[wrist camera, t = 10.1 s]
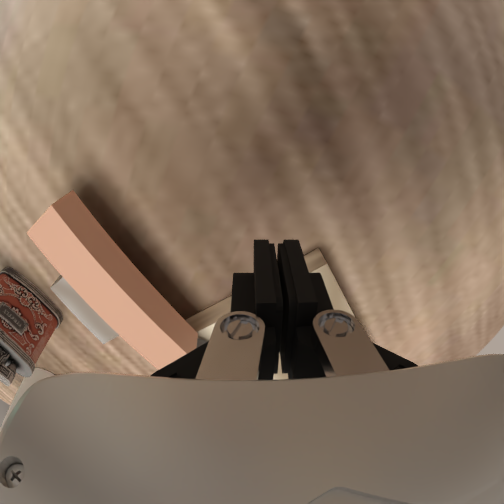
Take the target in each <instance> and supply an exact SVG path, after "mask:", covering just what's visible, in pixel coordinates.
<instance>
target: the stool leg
mask: <svg viewBox="0 0 504 504" xmlns="http://www.w3.org/2000/svg"><path fill="white" fill-rule="evenodd" d="M27 234H28V235H29V237H30V238H31V239H32V241H33V242H34V243H35V244H36V246H37V247H38V248H39V249H40V251H41V252H42V253H43V254H44V256H45V257H46V258H47V259H48V260H49V262H50V263H51V264H52V265H53V266H54V267H55V269H56V270H57V271H58V272H59V273H60V274H61V275H62V277H63V278H64V279H65V280H66V281H67V282H68V283H69V284H70V286H71V287H72V288H73V289H74V290H75V291H76V292H77V293H78V294H79V295H80V296H81V297H82V298H83V300H84V301H85V302H86V303H87V304H88V305H89V306H90V307H91V308H92V309H93V310H94V311H95V312H96V313H97V314H98V315H99V316H100V317H101V318H102V319H103V320H104V321H105V322H106V323H107V324H108V325H109V326H110V327H111V328H112V329H113V330H114V331H115V332H116V333H117V334H119V335H120V336H121V337H122V338H123V339H124V340H125V341H126V342H127V343H128V344H129V345H130V346H132V347H133V348H134V349H135V350H136V351H137V352H138V353H139V354H140V355H142V356H143V357H144V358H145V359H146V360H147V361H148V362H150V363H151V364H152V365H153V366H154V367H155V368H157V369H158V370H160V369H161V368H163V367H165V366H167V365H168V364H170V363H172V362H174V361H175V360H177V359H179V358H181V357H182V356H184V355H186V354H187V353H189V352H191V351H193V350H194V349H196V348H198V347H199V346H201V345H203V344H204V343H206V342H207V341H205V340H203V339H199V338H198V333H197V332H196V331H195V330H194V329H193V328H192V327H191V326H190V325H189V324H188V323H187V322H186V321H185V320H184V319H183V318H182V317H181V315H180V314H179V313H178V312H177V311H176V310H175V309H174V308H173V307H172V306H171V305H170V304H169V303H168V302H167V301H166V300H165V299H164V298H163V297H162V295H161V294H160V293H159V292H158V291H157V290H156V289H155V288H154V287H153V286H152V285H151V283H150V282H149V281H148V280H147V279H146V278H145V277H144V276H143V275H142V273H141V272H140V271H139V270H138V269H137V268H136V267H135V266H134V264H133V263H132V262H131V261H130V260H129V259H128V258H127V256H126V255H125V254H124V253H123V252H122V251H121V249H120V248H119V247H118V246H117V245H116V243H115V242H114V241H113V240H112V239H111V237H110V236H109V235H108V234H107V233H106V231H105V230H104V229H103V228H102V226H101V225H100V224H99V223H98V222H97V220H96V219H95V218H94V217H93V215H92V214H91V213H90V211H89V210H88V209H87V208H86V206H85V205H84V204H83V202H82V201H81V200H80V199H79V197H78V196H77V195H76V193H75V192H74V191H73V190H72V191H71V192H69V193H68V194H66V195H65V196H63V197H62V198H61V199H59V200H58V201H56V202H55V203H53V204H52V205H51V206H50V207H49V208H48V209H47V210H46V211H45V212H44V213H43V215H42V216H41V217H40V218H39V219H38V220H37V221H36V223H35V224H34V225H33V226H32V227H31V228H30V230H29V231H28V232H27Z"/></svg>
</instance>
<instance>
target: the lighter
mask: <svg viewBox="0 0 504 504" xmlns="http://www.w3.org/2000/svg"><path fill="white" fill-rule="evenodd" d="M62 319H63V315H62V313H61V311H60V310H59V308H58V307H57V306H56V305H55V304H54V303H53V302H52V301H51V300H50V299H49V298H48V297H47V296H46V295H45V294H44V293H43V292H42V291H41V290H40V289H39V288H38V287H36V286H35V285H34V284H33V283H31V282H30V281H29V280H28V279H27V278H25V277H24V276H23V275H21V274H20V273H18V272H17V271H16V270H14V269H13V268H11V267H6V268H4V269H3V270H2V271H1V272H0V381H1V382H2V383H4V384H5V385H6V386H10V384H11V382H12V381H13V379H14V377H15V374H16V373H18V374H19V375H21V376H23V377H30V376H31V375H32V373H33V371H34V370H35V363H36V362H37V360H38V358H39V356H40V354H41V353H42V351H43V349H44V347H45V346H46V344H47V342H48V340H49V339H50V337H51V335H52V334H53V332H54V330H55V329H57V328H58V327H59V325H60V324H61V322H62ZM5 365H6V366H7V367H6V366H5Z"/></svg>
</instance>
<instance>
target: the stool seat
mask: <svg viewBox="0 0 504 504" xmlns="http://www.w3.org/2000/svg"><path fill="white" fill-rule="evenodd" d="M304 259H305V262H306V265H307V268H308V271H309V273H321V275H322V278H323V281H324V284H325V286H326V289H327V292H328V295H329V297H330V300H331V303H332V306H333V309H334V310H342V311H345V312H348V313H350V314H351V315H353V316H354V314H353V312H352V310H351V308H350V306H349V304H348V303H347V301H346V299H345V297H344V295H343V293H342V291H341V289H340V287H339V285H338V283H337V281H336V279H335V277H334V276H333V274H332V272H331V270H330V268H329V266H328V264H327V263H326V261H325V259H324V257H323V255H322V253H321V252H320V250H319V248H317V249H316V250H314V251H312V252H310V253H308V254H307V255H305V256H304ZM50 289H51V290H52V291H53V292H54V293H55V294H56V295H57V297H58V298H59V299H60V300H61V301H62V302H63V303H64V304H65V305H66V306H67V308H68V309H69V310H70V311H71V312H72V313H73V314H74V315H75V316H76V317H77V318H78V319H79V320H80V321H81V322H82V323H83V324H84V325H85V326H86V327H87V328H88V329H89V330H90V331H91V332H92V333H93V334H94V335H95V336H96V337H97V338H98V339H99V340H100V341H101V342H102V343H103V344H105V343H106V342H108V341H110V340H112V339H114V338H116V337H117V336H119V334H117V333H116V332H115V331H114V330H113V329H112V328H111V327H110V326H109V325H108V324H107V323H106V322H105V321H104V320H103V319H102V318H101V317H100V316H99V315H98V314H97V313H96V312H95V311H94V310H93V309H92V308H91V307H90V306H89V305H88V304H87V303H86V302H85V301H84V300H83V298H82V297H81V296H80V295H79V294H78V293H77V292H76V291H75V290H74V289H73V288H72V287H71V286H70V284H69V283H68V282H67V281H66V280H65V279H64V278H63V277H62V275H60V276H59V277H58V279H57V280H56V281H55V283H54V284H53V285H52V286H51V288H50ZM231 298H232V296H230V297H228V298H226V299H224V300H222V301H220V302H218V303H217V304H215V305H213V306H211V307H209V308H207V309H205V310H203V311H201V312H199V313H198V314H196V315H194V316H192V317H190V318H188V319H186V320H185V321H186V322H187V323H188V324H189V325H190V326H191V327H192V328H193V329H194V330H195V331H196V332H197V333H198V338H199V339H203V340H205V341H207V342H208V341H209V340H210V337H211V334H212V331H213V329H214V326H215V323H216V322H217V320H218V319H219V318H220V317H221V316H223V315H225V314H227V313H230V311H231ZM354 317H355V316H354ZM280 379H288V373H284V374H282V369H281V359H280V353H279V364H278V373H277V374H274V376H273V380H280Z"/></svg>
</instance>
